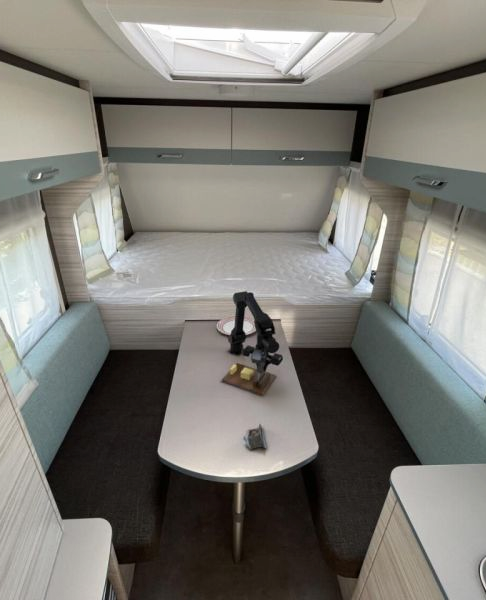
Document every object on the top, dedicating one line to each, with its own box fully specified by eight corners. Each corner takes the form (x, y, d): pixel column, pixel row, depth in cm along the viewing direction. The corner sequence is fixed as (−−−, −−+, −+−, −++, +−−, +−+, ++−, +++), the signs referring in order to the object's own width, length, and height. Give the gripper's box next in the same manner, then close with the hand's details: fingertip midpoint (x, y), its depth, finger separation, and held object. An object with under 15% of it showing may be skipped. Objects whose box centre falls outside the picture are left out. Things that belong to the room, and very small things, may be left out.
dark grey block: (255, 381, 157) (255, 367, 154) (262, 372, 163) (262, 359, 160) (260, 383, 156) (261, 369, 152) (267, 374, 162) (268, 360, 159)
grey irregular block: (244, 427, 135) (240, 428, 124) (260, 423, 135) (258, 423, 124) (250, 452, 131) (247, 454, 120) (267, 447, 131) (265, 449, 120)
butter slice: (229, 373, 165) (229, 368, 164) (234, 369, 169) (234, 364, 168) (232, 374, 165) (232, 369, 164) (236, 370, 168) (236, 364, 167)
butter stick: (240, 377, 163) (240, 372, 162) (244, 372, 167) (244, 367, 165) (249, 380, 161) (249, 375, 159) (253, 375, 164) (253, 370, 163)
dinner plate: (219, 341, 198) (218, 336, 197) (215, 320, 223) (215, 316, 221) (263, 337, 202) (263, 332, 201) (254, 318, 227) (254, 313, 225)
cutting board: (221, 381, 162) (221, 375, 160) (237, 365, 175) (237, 358, 173) (262, 395, 153) (262, 388, 151) (275, 377, 166) (275, 370, 164)
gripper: (237, 345, 149) (237, 373, 155) (274, 356, 141) (273, 385, 147) (247, 334, 158) (247, 361, 164) (284, 344, 150) (282, 372, 156)
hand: (261, 370), depth 158 cm, fingers closed on dark grey block, 3 cm apart
